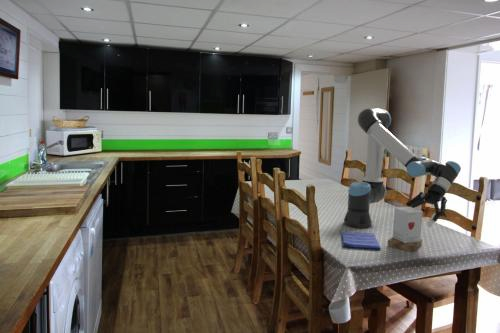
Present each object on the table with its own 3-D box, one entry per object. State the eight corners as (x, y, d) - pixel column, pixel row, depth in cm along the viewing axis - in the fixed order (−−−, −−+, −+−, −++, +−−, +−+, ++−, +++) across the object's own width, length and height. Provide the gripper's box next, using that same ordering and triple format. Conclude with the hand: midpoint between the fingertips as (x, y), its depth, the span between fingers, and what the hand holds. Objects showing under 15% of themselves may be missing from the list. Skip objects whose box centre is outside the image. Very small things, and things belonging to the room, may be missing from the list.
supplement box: (405, 243, 177) (407, 212, 175) (391, 237, 186) (394, 207, 183) (420, 242, 180) (423, 210, 178) (407, 236, 189) (409, 206, 186)
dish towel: (342, 249, 179) (343, 243, 179) (340, 233, 202) (340, 228, 202) (381, 252, 176) (381, 246, 176) (374, 236, 199) (374, 230, 199)
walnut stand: (387, 246, 183) (388, 239, 182) (396, 239, 192) (396, 233, 192) (414, 252, 175) (414, 245, 175) (421, 245, 185) (421, 239, 184)
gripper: (466, 198, 180) (443, 233, 175) (420, 188, 202) (398, 219, 197) (460, 188, 177) (436, 224, 172) (414, 179, 199) (391, 211, 194)
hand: (416, 221), depth 185 cm, fingers open, 13 cm apart
